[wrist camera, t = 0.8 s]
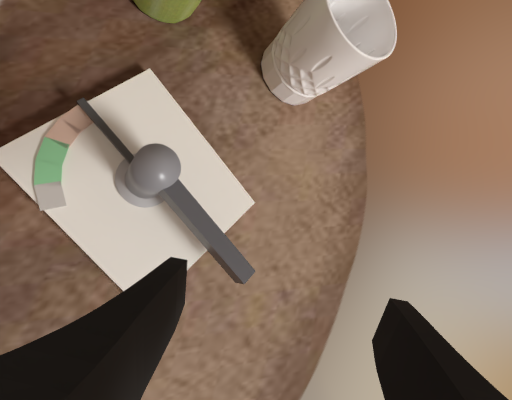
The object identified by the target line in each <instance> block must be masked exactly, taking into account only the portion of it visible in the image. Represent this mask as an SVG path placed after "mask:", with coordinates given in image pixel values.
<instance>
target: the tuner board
mask: <svg viewBox="0 0 512 400" xmlns="http://www.w3.org/2000/svg"><path fill="white" fill-rule="evenodd" d="M87 102H88V103H89V104H90V106H91V107H92V108H93V109H94V110H95V111H96V113H97V114H98V115H99V116H100V117H101V118H102V120H103V121H104V122H105V123H106V124H107V125H108V127H109V128H110V129H111V130H112V131H113V132H114V134H115V135H116V136H117V137H118V138H119V139H120V141H121V142H122V143H123V144H124V145H125V146H126V148H127V149H128V150H129V151H130V152H131V153H132V155H133V156H134V157H135V155H136V153H137V152H138V151H139V150H140V149H141V148H142V147H143V146H145V145H148V144H153V143H158V144H163V145H165V146H167V147H169V148H171V149H172V150H173V151H174V152H175V153H176V154H177V156H178V158H179V160H180V163H181V173H180V176H179V178H178V179H179V180H180V181H181V183H182V184H183V185H184V186H185V187H186V189H187V190H188V191H189V192H190V193H191V195H192V196H193V197H194V198H195V199H196V200H197V202H198V203H199V204H200V205H201V206H202V208H203V209H204V210H205V211H206V212H207V214H208V215H209V216H210V217H211V218H212V220H213V221H214V222H215V223H216V224H217V226H218V227H219V228H220V229H221V230H222V232H223V233H225V232H226V231H227V230H228V229H229V228H230V227H231V226H232V225H233V224H234V223H235V222H236V221H237V220H238V219H239V218H240V217H241V216H242V215H243V214H244V213H245V212H246V211H247V210H248V209H249V208H250V207H251V206H252V205H253V204H254V203H255V202H254V201H253V199H252V198H251V197H250V196H249V194H248V193H247V192H246V191H245V189H244V188H243V187H242V185H241V184H240V183H239V182H238V180H237V179H236V178H235V176H234V175H233V174H232V173H231V171H230V170H229V169H228V168H227V166H226V165H225V164H224V162H223V161H222V160H221V159H220V157H219V156H218V155H217V154H216V152H215V151H214V150H213V148H212V147H211V146H210V145H209V143H208V142H207V141H206V139H205V138H204V137H203V136H202V134H201V133H200V132H199V131H198V129H197V128H196V127H195V125H194V124H193V123H192V122H191V120H190V119H189V118H188V116H187V115H186V114H185V113H184V111H183V110H182V109H181V108H180V106H179V105H178V104H177V102H176V101H175V100H174V99H173V97H172V96H171V95H170V94H169V92H168V91H167V90H166V88H165V87H164V86H163V85H162V83H161V82H160V81H159V79H158V78H157V77H156V76H155V74H154V73H153V72H152V71H151V69H148V70H146V71H144V72H142V73H140V74H138V75H137V76H135V77H133V78H131V79H129V80H127V81H125V82H123V83H121V84H120V85H118V86H116V87H114V88H112V89H110V90H108V91H106V92H104V93H103V94H101V95H99V96H97V97H95V98H93V99H91V100H89V101H87ZM129 165H130V164H129V163H128V162H127V160H126V159H125V158H124V157H123V156H122V155H121V153H120V152H119V151H118V150H117V149H116V148H115V147H114V145H113V144H112V143H111V142H110V141H109V140H108V139H107V137H106V136H105V135H104V134H103V133H102V132H101V130H100V129H99V128H98V127H97V126H96V125H95V124H94V122H93V121H92V120H91V119H90V118H89V117H88V115H87V114H86V113H85V112H84V111H83V110H82V109H81V107H80V106H79V105H77V106H75V107H74V108H72V109H71V110H70V111H68V112H67V113H65V114H63V115H61V116H59V117H57V118H55V119H53V120H51V121H49V122H48V123H46V124H44V125H42V126H40V127H38V128H36V129H34V130H32V131H31V132H29V133H27V134H25V135H23V136H21V137H19V138H17V139H15V140H14V141H12V142H10V143H8V144H6V145H4V146H2V147H0V167H1V168H2V169H3V170H4V171H5V172H6V173H7V174H8V175H9V176H10V177H11V178H12V179H13V180H14V181H15V182H16V183H17V184H18V185H19V186H20V187H21V188H22V189H23V190H24V191H25V192H26V193H27V194H28V195H29V196H30V197H31V198H32V199H33V200H34V201H35V202H36V203H37V204H38V205H39V208H40V211H42V210H44V211H45V212H46V213H47V214H48V215H49V216H50V217H51V218H52V219H53V220H54V221H55V222H56V223H57V224H58V225H59V226H60V227H61V228H62V229H63V231H64V232H65V233H66V234H67V235H68V236H69V237H70V238H71V239H72V240H73V241H74V242H75V243H76V244H77V245H78V246H79V247H80V248H81V249H82V250H83V251H84V252H85V253H86V254H87V255H88V256H89V257H90V258H91V259H92V260H93V261H94V262H95V263H96V264H97V265H98V266H99V267H100V268H101V269H102V270H103V271H104V272H105V273H106V274H107V275H108V276H109V277H110V278H111V279H112V280H113V281H114V282H115V283H116V284H117V285H118V286H119V287H120V288H121V289H122V290H123V291H125V290H126V289H128V288H129V287H130V286H132V285H133V284H135V283H136V282H137V281H139V280H140V279H142V278H143V277H144V276H146V275H147V274H148V273H150V272H151V271H152V270H154V269H155V268H156V267H158V266H159V265H160V264H162V263H163V262H164V261H166V260H167V259H168V258H170V257H174V258H180V259H185V260H187V270H188V269H189V268H190V267H191V266H192V265H193V264H194V263H195V262H196V261H197V260H198V259H199V258H200V257H201V256H202V255H203V254H204V253H205V252H206V251H207V249H206V248H205V247H204V246H203V245H202V243H201V242H200V241H199V240H198V239H197V238H196V236H195V235H194V234H193V233H192V232H191V231H190V230H189V228H188V227H187V226H186V225H185V224H184V223H183V221H182V220H181V219H180V218H179V217H178V216H177V215H176V213H175V212H174V211H173V210H172V209H171V208H170V206H169V205H168V204H167V203H166V202H165V201H164V199H163V198H162V197H161V196H160V195H157V196H156V197H153V198H149V199H144V198H139V197H137V196H135V195H133V194H132V193H131V192H130V191H129V190H128V188H127V186H126V184H125V173H126V171H127V169H128V167H129Z"/></svg>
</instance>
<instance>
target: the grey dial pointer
mask: <svg viewBox="0 0 512 400" xmlns="http://www.w3.org/2000/svg"><path fill="white" fill-rule="evenodd" d="M77 104H78V105H79V106H80V107H81V109H82V110H83V111H84V112H85V113H86V114H87V115H88V117H89V118H90V119H91V120H92V121H93V122H94V124H95V125H96V126H97V127H98V128H99V129H100V130H101V132H102V133H103V134H104V135H105V136H106V137H107V139H108V140H109V141H110V142H111V143H112V144H113V145H114V147H115V148H116V149H117V150H118V151H119V152H120V153H121V155H122V156H123V157H124V158H125V159H126V160H127V162H128V163H129V164H130V165H129V167H128V169H127V171H126V173H125V184H126V186H127V188H128V190H129V191H130V192H131V193H132V194H133V195H135V196H137V197H139V198H144V199H149V198H153V197H156V196H157V195H160V196H161V197H162V198H163V199H164V201H165V202H166V203H167V204H168V205H169V206H170V208H171V209H172V210H173V211H174V212H175V213H176V215H177V216H178V217H179V218H180V219H181V220H182V221H183V223H184V224H185V225H186V226H187V227H188V228H189V230H190V231H191V232H192V233H193V234H194V235H195V236H196V238H197V239H198V240H199V241H200V242H201V243H202V245H203V246H204V247H205V248H206V249H207V250H208V252H209V253H210V254H211V255H212V256H213V257H214V258H215V260H216V261H217V262H218V263H219V264H220V265H221V267H222V268H223V269H224V270H225V271H226V272H227V273H228V275H229V276H230V277H231V278H232V279H233V280H234V282H235V283H241V284H245V283H246V282H247V281H248V279H249V278H250V277H251V276H252V275H253V274H254V272H255V270H254V269H253V268H252V266H251V265H250V264H249V263H248V262H247V260H246V259H245V258H244V257H243V256H242V254H241V253H240V252H239V251H238V250H237V248H236V247H235V246H234V245H233V244H232V242H231V241H230V240H229V239H228V238H227V236H226V235H225V234H224V233H223V232H222V230H221V229H220V228H219V227H218V226H217V224H216V223H215V222H214V221H213V220H212V218H211V217H210V216H209V215H208V214H207V212H206V211H205V210H204V209H203V208H202V206H201V205H200V204H199V203H198V202H197V200H196V199H195V198H194V197H193V196H192V195H191V193H190V192H189V191H188V190H187V189H186V187H185V186H184V185H183V184H182V183H181V181H180V180H179V179H178V178H179V176H180V173H181V163H180V160H179V158H178V156H177V154H176V153H175V152H174V151H173V150H172V149H171V148H169V147H167V146H165V145H163V144H158V143H153V144H148V145H145V146H143V147H142V148H141V149H140V150H139V151H138V152H137V153H136V155H135V157H134V156H133V155H132V153H131V152H130V151H129V150H128V149H127V148H126V146H125V145H124V144H123V143H122V142H121V141H120V139H119V138H118V137H117V136H116V135H115V134H114V132H113V131H112V130H111V129H110V128H109V127H108V125H107V124H106V123H105V122H104V121H103V120H102V118H101V117H100V116H99V115H98V114H97V113H96V111H95V110H94V109H93V108H92V107H91V106H90V104H89V103H88V102H87V101H86V100H85V99H84V98H82V99H80V100H78V101H77Z"/></svg>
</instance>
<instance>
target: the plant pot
mask: <svg viewBox="0 0 512 400" xmlns="http://www.w3.org/2000/svg"><path fill="white" fill-rule="evenodd" d="M133 1H134V2H135V4H136V5H137V7H138V8H139V9H140V10H141V11H142V12H144V13H145V14H147V15H148V16H150V17H152V18H154V19H156V20H158V21H162V22H166V23H177V22H179V21H182V20H184V19H186V18H188V17H190V15H191V14H192V13H193V11H194V10H195V9H196V7H197V6H198V5H199V3H200V2H201V1H202V0H133Z"/></svg>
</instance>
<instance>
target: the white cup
mask: <svg viewBox="0 0 512 400" xmlns="http://www.w3.org/2000/svg"><path fill="white" fill-rule="evenodd" d="M396 39H397V29H396V22H395V17H394V14H393V11H392V8H391V5H390V3H389V1H388V0H303V2H302V3H301V4H300V5H299V6H298V8H297V9H296V10H295V11H294V13H293V14H292V15H291V17H290V18H289V20H288V21H287V22H286V23H285V25H284V26H283V27H282V28H281V30H280V32H279V33H278V35H277V37H276V38H275V39H274V40H273V41H272V43H271V44H270V45H269V46H268V47H267V49H266V50H265V51H264V54H263V58H262V61H261V68H262V74H263V79H264V80H265V82H266V84H267V86H268V87H269V89H270V91H271V92H272V93H273V94H274V95H275V96H276V97H277V98H279V99H280V100H281V101H282V102H285V103H288V104H291V105H299V104H304V103H306V102H308V101H310V100H311V99H313V98H315V97H316V96H318V95H321V94H323V93H325V92H327V91H329V90H331V89H332V88H334V87H336V86H338V85H340V84H342V83H344V82H345V81H347V80H349V79H351V78H352V77H354V76H356V75H357V74H359V73H361V72H362V71H364V70H366V69H368V68H370V67H371V66H373V65H375V64H376V63H378V62H380V61H382V60H383V59H385V58H387V57H388V56H389V55H390V54H391V53H392V52H393V50H394V47H395V45H396Z"/></svg>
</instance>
